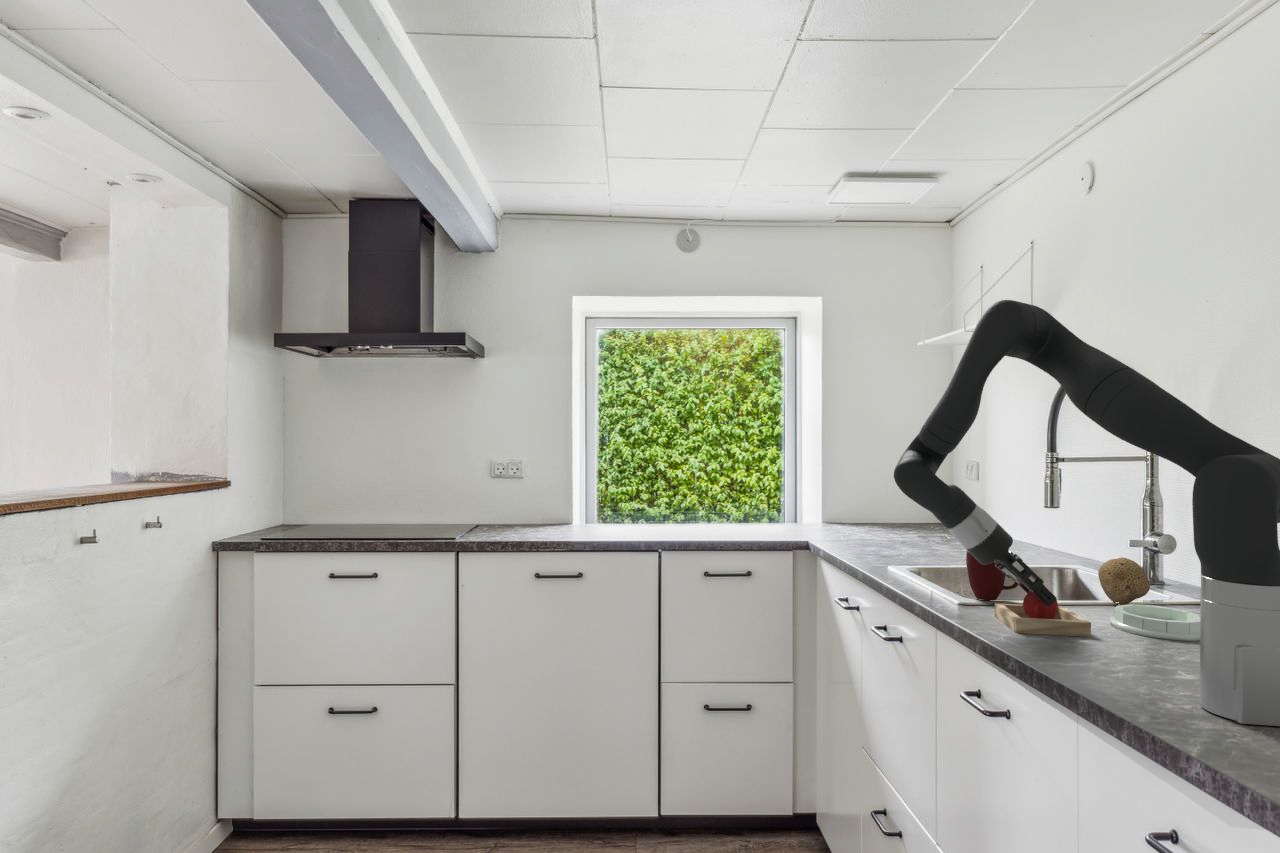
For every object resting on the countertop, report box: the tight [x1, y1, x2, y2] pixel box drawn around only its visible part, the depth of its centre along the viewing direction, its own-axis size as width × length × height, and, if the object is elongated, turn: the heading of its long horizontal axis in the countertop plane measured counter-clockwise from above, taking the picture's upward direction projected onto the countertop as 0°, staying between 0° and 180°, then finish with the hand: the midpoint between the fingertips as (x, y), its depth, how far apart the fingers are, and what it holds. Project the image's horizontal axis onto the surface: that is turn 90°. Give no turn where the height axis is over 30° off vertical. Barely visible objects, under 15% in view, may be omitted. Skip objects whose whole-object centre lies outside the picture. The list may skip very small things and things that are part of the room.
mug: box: [965, 550, 1019, 602], centre depth 162 cm, size 11×8×10 cm
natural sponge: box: [1097, 557, 1151, 605], centre depth 158 cm, size 9×9×10 cm
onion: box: [1022, 583, 1059, 619], centre depth 140 cm, size 6×6×8 cm
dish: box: [1109, 603, 1200, 642], centre depth 139 cm, size 15×15×3 cm
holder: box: [994, 602, 1092, 638], centre depth 140 cm, size 12×12×2 cm
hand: (1043, 597), depth 140 cm, fingers open, 8 cm apart
